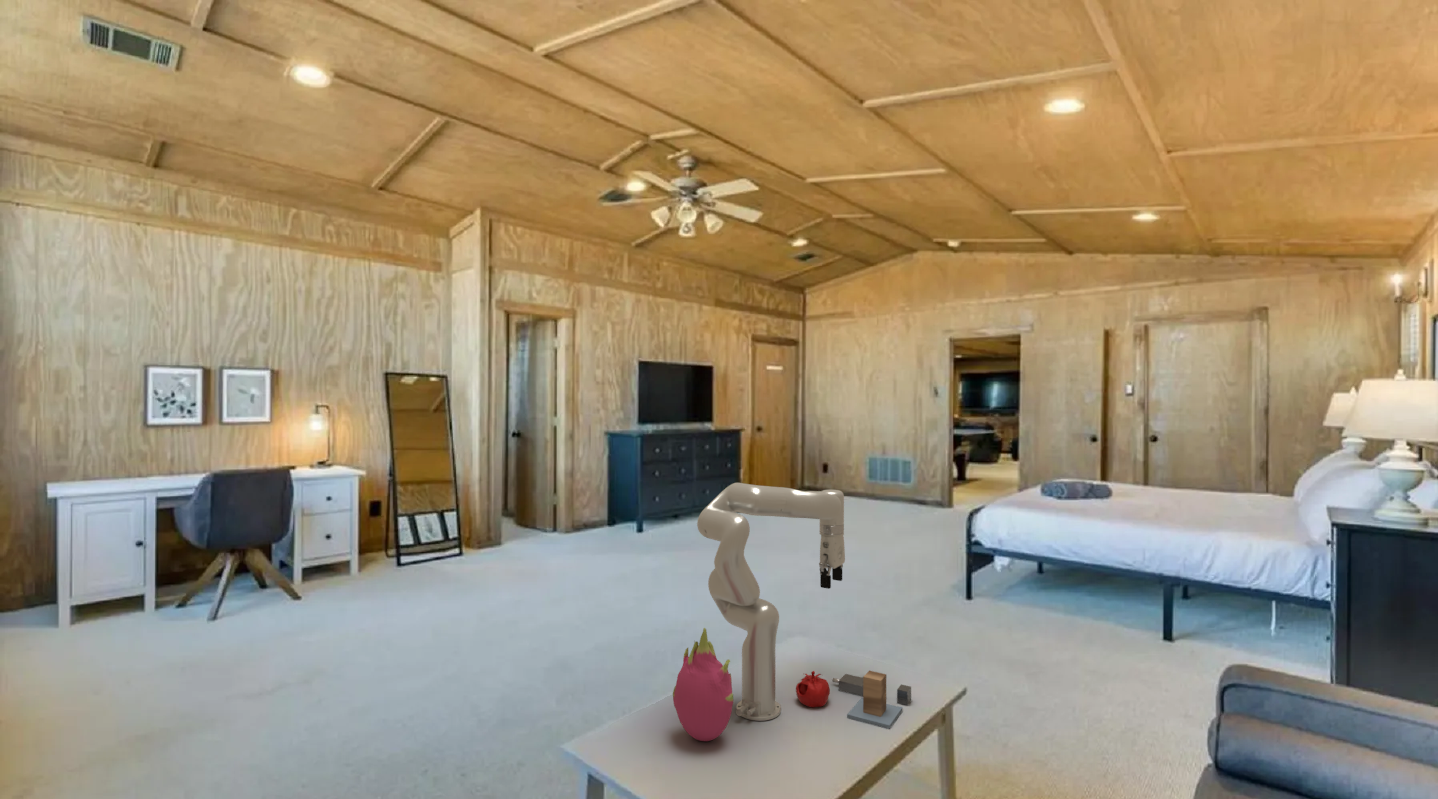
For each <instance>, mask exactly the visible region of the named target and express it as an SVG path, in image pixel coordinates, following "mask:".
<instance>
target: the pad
mask: <svg viewBox="0 0 1438 799" xmlns="http://www.w3.org/2000/svg"><path fill="white" fill-rule="evenodd" d="M902 712H903V707H902V706H898V705H893V704H891V703H886V711H885V712H884V713H883V715H882V716H881V717H879V716H875V715H871V714H867V713H864V712H863V697H861V698H860V699H859V700H858V701H857V702H856V703H855V705H853V707H852V708H851V709H850V710H849V711H848V713H847V714H846V718H847V719H849V720H854V721H857V722H861V723H865V724H869V725H872V726H875V727H880V728H884V729H886V730H887V729H888V730H891V728H892V726H893V725H894V724H895V722H896V721H897V719H898V718H899V717H900V715H901V714H902Z"/></svg>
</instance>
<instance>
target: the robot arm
mask: <svg viewBox="0 0 1438 799" xmlns="http://www.w3.org/2000/svg"><path fill="white" fill-rule="evenodd" d="M844 495H845V494H844V492H843V491H842V490H839V489H823V490H821V491H820V490H818V491H817V490H807V491H805V490H800V489H794V488H790V487H783V486H780V487H779V486H768V485H756V484H749V483H742V482H734V483H733V482H732V483H731V484H730V485H728V486H727V487H725V489H723V490H722V491H721V492H720V493H719V494H718V495H716V497H715V498H713V500H711V501H710V503H708V505H707V506H705V507H704V509H703V510H702V511H701V512H700V514H699V515H698V518H697V523H696V524H697V525H696V526H697V530H698V532H699V533H700V535H701V536H702V537H705V539H706V538H707V539H710V540H714V541H717V542H720V543H719V546H718V548H717V551H716V553H715V556H714V561H713V564H714V569H713V570H712V571H711V572H710V574H709V578H708V584H707V586H708V591H709V594H710V596H711V598H712V600H713V601H714V603H715V604H716V606H717V608H718V610H719V611H720V614H721V615H722V617H723V618H724V620H726V621H727V623H729V624H730V625H732V626H734V627H737V628H739V629H742V630H744V631H746V633H747V634H746V637H745V639H744V641H743V644H742V646H741V700H740V701H738V702H737V704H736V706H735V707H736V711H735V715H736V716H737V717H742V718H744V719H746V720H750V721H758V722H759V721H760V722H763V721H769V720H773V719H775V718H777V717H778V716H780V714H781V712H782V707H781V704H780V703H779V702H778V701H776V642H777V633H778V628H779V623H780V614H779V611H778V608H777V607H776V605H774V604H772V603H771V602H770V601H768V600H766V599H762V598H760V596H761V590H760V586H759V585H760V584H759V582H758V580H757V579H756V577H755V575H754V574H753V571H752V570H751V568H750V566H749V564H748V562H747V560H746V557H745V548H746V544H747V542H748V539H749V536H750V523H749V521H748V519H747V518H746V517H745V516H744V515H750V516H758V517H759V516H760V517H779V518H780V517H782V518H789V519H790V518H791V519H793V518H794V519H811V520H819V535H820V544H819V563H818V565H819V575H820V576H819V577H820V588H822V589H831V588H832V581H839V582H842V581H843V567H844V566H843V564H844V563H845V561H846V556H845V555H846V550H845V540H844V536H845V531H844V530H845V528H844V527H845V519H844V518H845V496H844ZM743 514H744V515H743ZM831 570H832V571H831ZM831 572H832V576H831V575H830V574H831Z"/></svg>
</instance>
